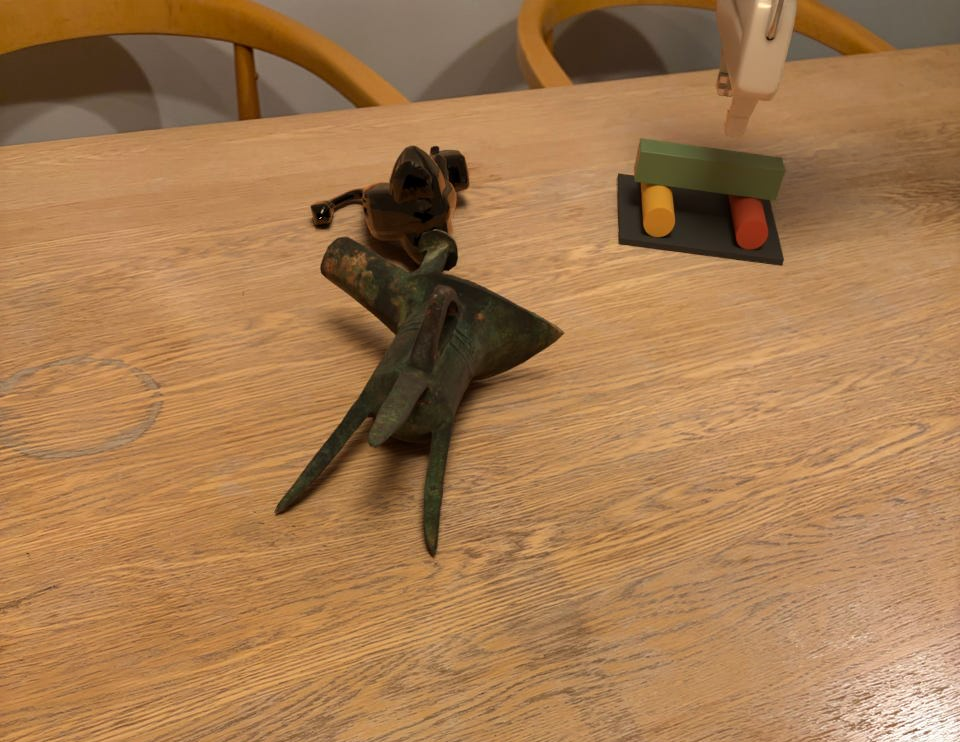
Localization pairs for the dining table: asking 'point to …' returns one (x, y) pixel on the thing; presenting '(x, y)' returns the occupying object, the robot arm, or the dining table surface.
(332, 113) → the dining table surface
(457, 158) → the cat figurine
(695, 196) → the rod stand
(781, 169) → the bar
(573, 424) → the dining table surface
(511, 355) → the vessel
